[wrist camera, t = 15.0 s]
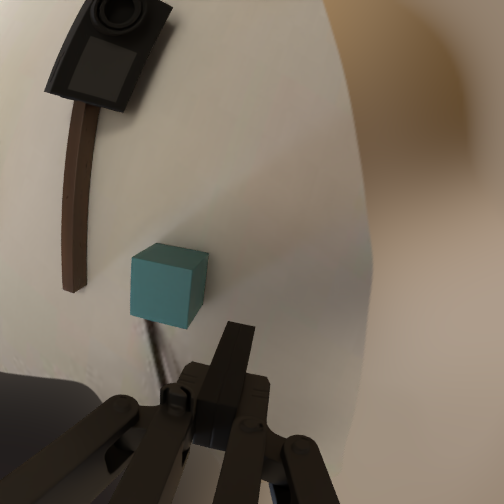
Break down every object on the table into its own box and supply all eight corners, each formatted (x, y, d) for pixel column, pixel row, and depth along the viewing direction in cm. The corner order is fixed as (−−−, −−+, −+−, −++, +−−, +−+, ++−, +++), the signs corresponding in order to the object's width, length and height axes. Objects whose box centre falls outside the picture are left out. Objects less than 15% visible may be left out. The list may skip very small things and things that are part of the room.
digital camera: (129, 116, 22) (49, 95, 17) (109, 109, 26) (42, 92, 20) (181, 5, 20) (110, -29, 14) (153, 13, 23) (91, -13, 17)
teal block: (209, 252, 28) (192, 270, 23) (202, 304, 29) (187, 329, 24) (156, 242, 28) (131, 257, 23) (152, 293, 30) (129, 315, 25)
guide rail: (158, -76, 19) (150, -87, 17) (87, 284, 30) (73, 293, 28) (146, -74, 19) (138, -85, 17) (76, 281, 30) (62, 289, 28)
